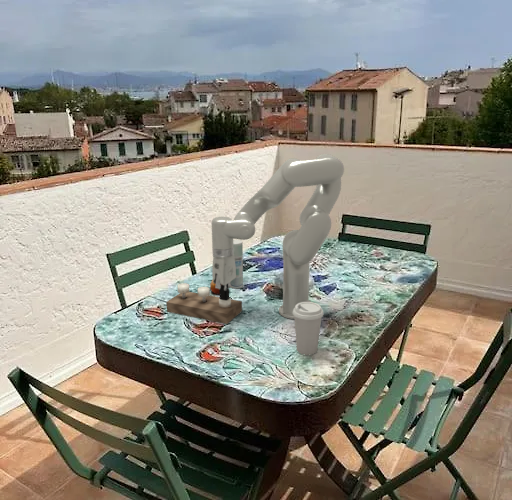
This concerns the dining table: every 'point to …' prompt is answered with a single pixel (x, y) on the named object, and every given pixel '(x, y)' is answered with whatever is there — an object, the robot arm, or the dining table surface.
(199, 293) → the knob mid
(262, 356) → the dining table surface
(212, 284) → the fruit
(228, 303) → the knob near
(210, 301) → the mount
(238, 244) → the spray can
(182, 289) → the knob far
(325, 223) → the robot arm
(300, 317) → the coffee cup
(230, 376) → the dining table surface
